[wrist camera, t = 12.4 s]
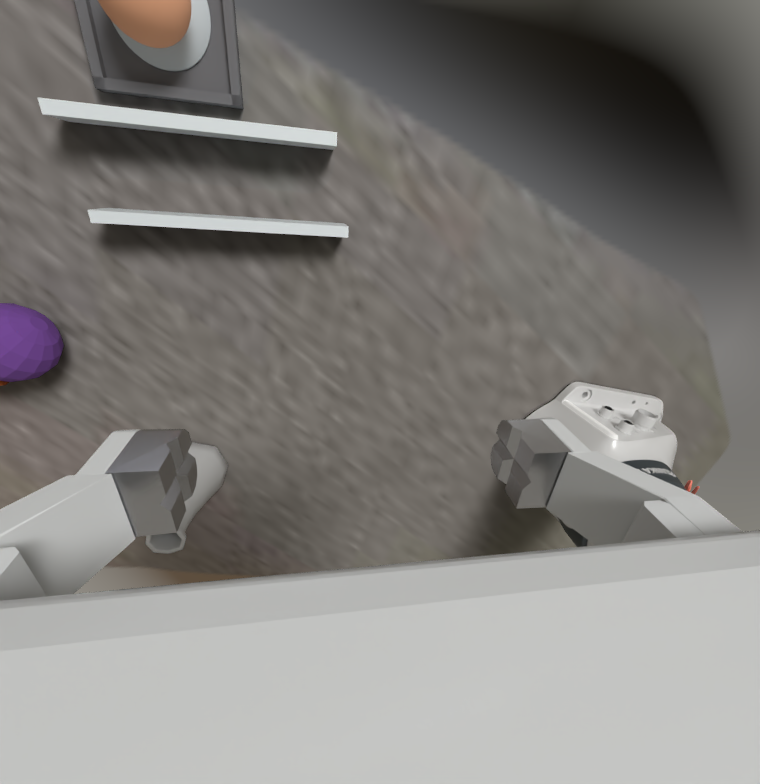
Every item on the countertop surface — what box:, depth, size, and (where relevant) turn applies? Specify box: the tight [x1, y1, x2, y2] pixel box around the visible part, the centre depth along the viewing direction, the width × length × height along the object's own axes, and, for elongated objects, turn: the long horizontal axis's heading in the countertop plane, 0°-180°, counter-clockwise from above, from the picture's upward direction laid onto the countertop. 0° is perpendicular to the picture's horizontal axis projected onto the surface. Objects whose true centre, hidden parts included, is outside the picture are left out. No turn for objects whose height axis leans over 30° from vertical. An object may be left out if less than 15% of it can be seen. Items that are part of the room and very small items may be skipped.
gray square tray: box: [74, 0, 243, 109], centre depth 23 cm, size 9×9×1 cm
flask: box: [145, 442, 228, 554], centre depth 36 cm, size 7×7×10 cm
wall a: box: [88, 208, 348, 238], centre depth 28 cm, size 18×1×3 cm, turn 86°
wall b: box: [38, 98, 337, 150], centre depth 25 cm, size 18×1×3 cm, turn 86°
